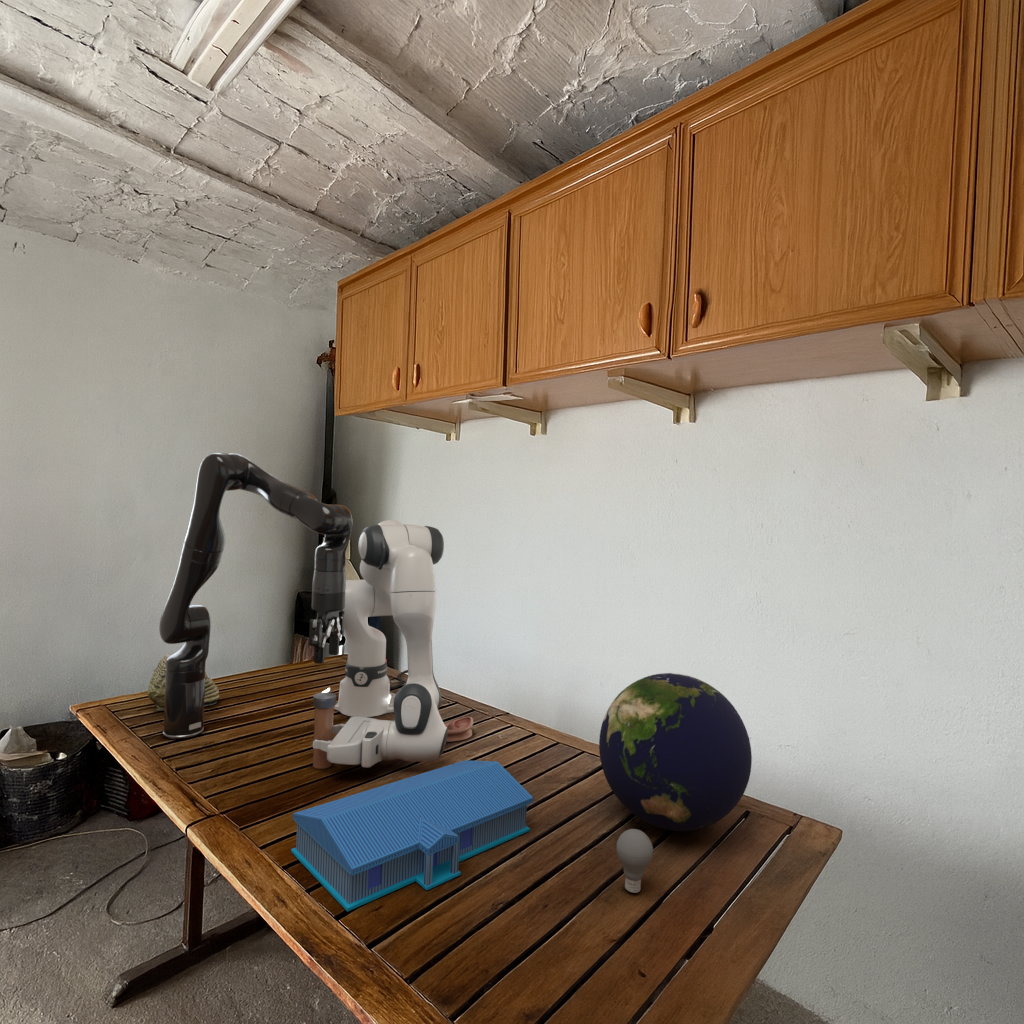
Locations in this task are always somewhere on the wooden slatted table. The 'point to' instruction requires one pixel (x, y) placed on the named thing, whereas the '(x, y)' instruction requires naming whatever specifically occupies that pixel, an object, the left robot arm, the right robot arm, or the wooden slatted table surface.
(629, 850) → the light bulb
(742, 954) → the wooden slatted table surface
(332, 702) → the lid
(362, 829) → the model building
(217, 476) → the left robot arm
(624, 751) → the globe
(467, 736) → the anatomical model
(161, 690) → the fossil
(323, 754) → the brown cylinder
